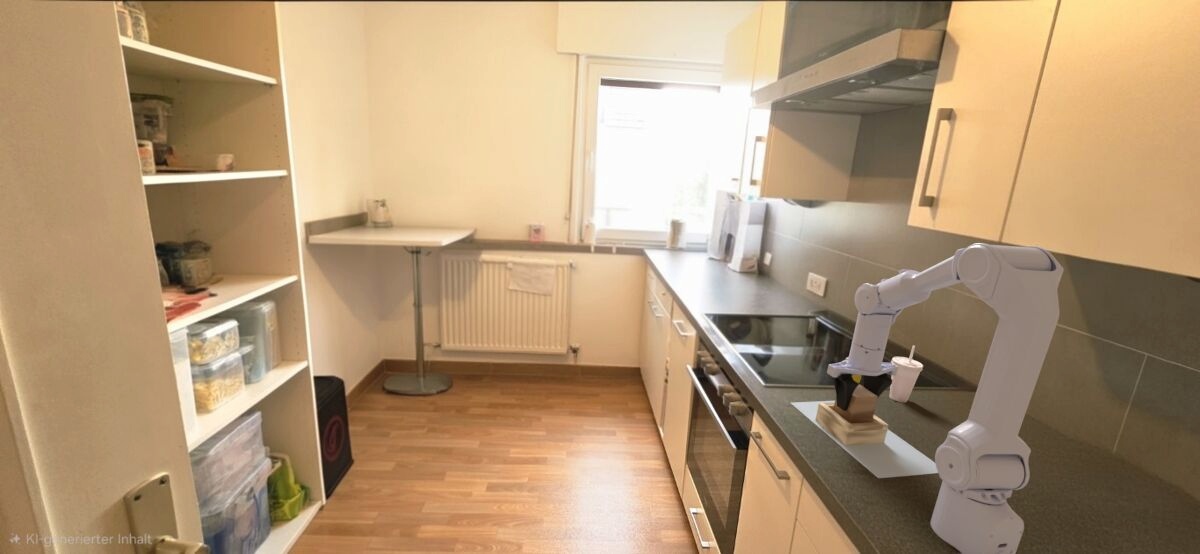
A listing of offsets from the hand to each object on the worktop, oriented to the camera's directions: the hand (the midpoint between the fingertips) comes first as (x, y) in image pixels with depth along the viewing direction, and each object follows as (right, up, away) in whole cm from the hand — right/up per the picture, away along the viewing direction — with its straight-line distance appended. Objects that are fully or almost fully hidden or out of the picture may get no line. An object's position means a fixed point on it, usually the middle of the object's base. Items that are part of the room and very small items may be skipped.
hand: (854, 407), depth 95 cm
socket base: (0, -5, +1) cm, 5 cm away
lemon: (+10, -2, +23) cm, 25 cm away
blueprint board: (+2, -6, +1) cm, 7 cm away
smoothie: (+21, -3, +19) cm, 29 cm away
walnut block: (0, -2, +1) cm, 2 cm away
